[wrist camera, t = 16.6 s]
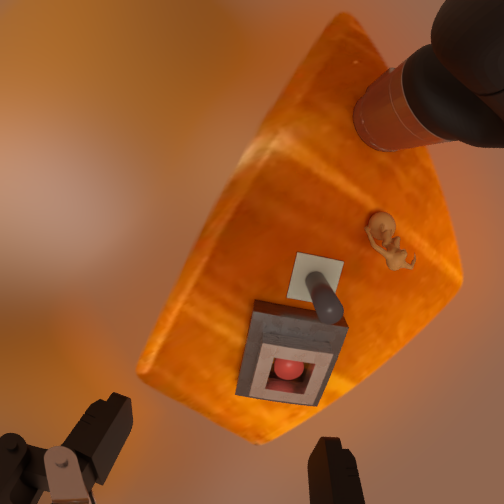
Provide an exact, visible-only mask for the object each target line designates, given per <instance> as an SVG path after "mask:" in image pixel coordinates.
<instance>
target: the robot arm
mask: <svg viewBox="0 0 504 504" xmlns="http://www.w3.org/2000/svg"><path fill="white" fill-rule="evenodd" d="M353 121H354V125H355V128H356V131H357V133H358V135H359V136H360V137H361V139H362V140H363V141H364V142H365V143H366V144H367V145H369V146H370V147H372V148H374V149H376V150H378V151H383V152H391V151H397V150H402V149H408V148H413V147H419V146H425V145H431V144H437V143H444V142H451V141H458V140H459V141H462V142H464V143H466V144H469V145H472V146H475V147H483V148H504V0H446V1H445V2H444V3H443V5H442V6H441V8H440V10H439V12H438V13H437V15H436V18H435V20H434V22H433V26H432V30H431V44H429V45H426V46H423V47H422V48H420V49H419V50H417V51H416V52H415V53H413V54H412V55H411V56H410V57H409V58H407V59H406V60H405V61H404V62H403V63H401V64H400V65H399V66H398V67H397V68H389V69H388V70H387V71H386V72H385V73H383V74H382V75H381V76H380V77H379V78H378V79H377V80H376V81H374V82H373V83H372V84H371V85H370V86H369V87H368V88H367V92H366V94H365V95H364V96H362V97H361V98H360V99H359V101H358V102H357V103H356V106H355V108H354V113H353ZM132 425H133V415H132V406H131V399H130V398H128V397H126V396H123V395H121V394H118V393H115V392H113V393H112V394H111V395H110V397H109V398H108V400H107V401H104V400H101V399H99V400H98V401H96V402H94V403H92V404H91V405H90V406H89V408H88V409H87V410H86V412H85V414H83V416H82V417H81V419H80V421H78V423H77V424H76V426H75V427H74V429H73V430H72V431H71V433H70V434H69V436H68V437H67V438H66V440H65V441H64V443H63V444H62V445H61V446H55V447H52V448H50V449H43V448H39V447H35V446H31V445H28V444H26V442H25V440H24V439H23V438H22V437H21V436H20V435H18V434H15V433H7V434H4V435H3V436H1V437H0V504H37V503H38V501H39V499H40V497H41V495H42V493H43V491H48V492H50V494H51V498H52V504H96V501H95V498H94V495H93V492H92V487H93V485H94V484H95V482H96V483H98V484H100V485H103V484H104V482H105V480H106V478H107V476H108V474H109V472H110V471H111V469H112V467H113V465H114V463H115V461H116V459H117V457H118V455H119V453H120V451H121V449H122V447H123V445H124V443H125V441H126V439H127V437H128V436H129V434H130V432H131V429H132ZM308 480H309V495H310V504H365V501H364V496H363V492H362V487H361V483H360V478H359V473H358V469H357V464H356V460H355V457H354V456H353V454H352V453H351V452H350V451H349V449H342V445H341V441H340V438H338V437H321V438H320V439H319V441H318V443H317V445H316V446H315V448H314V450H313V452H312V453H311V455H310V457H309V460H308Z"/></svg>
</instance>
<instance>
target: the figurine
mask: <svg viewBox="0 0 504 504" xmlns="http://www.w3.org/2000/svg"><path fill="white" fill-rule="evenodd" d="M364 228H365V227H364ZM395 228H396V224H395V221H394V219H393V217H392V216H391V215H390V214H388V213H386V212H377V213H375V214H374V215H373V216H372V217H371V218H370V220H369V224H368V227H367V226H366V228H365V231H366V233H367V234H368V238H369V240H370V242H371V245H372V247H373V248H374V249H375V250H376V251H378V252H379V253H380V254H382V255H383V256H384V257H385V258H386V263H387V266H388V267H389V269H391V270H394V271H395V270H398V269H400V268H407V269H413V266H414V264H415V261H416V256H415V253H414V259H413V260H412V262H411V264H408V263H406V261H405V258H406V257H407V252H406V250H405V249H402V250H401V249H400V247H399V246H400V237H399V236H396V237H394V238H392V239H391V236H392V235H393V234H394V232H395ZM372 236H373V237H374V238H376V239H378V240H382V246H383V247H385V248H387V251H386V250H384V249H383V248H381V247H379V246H378V245H376V243H375V241H374V240H373V237H372Z"/></svg>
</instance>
